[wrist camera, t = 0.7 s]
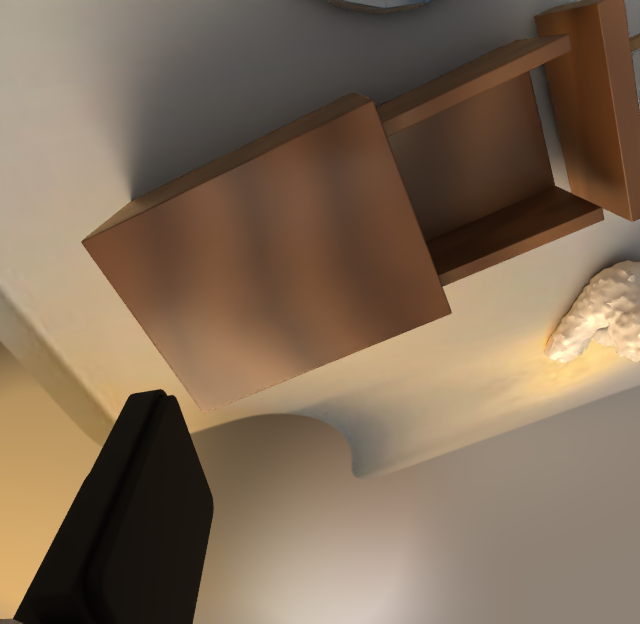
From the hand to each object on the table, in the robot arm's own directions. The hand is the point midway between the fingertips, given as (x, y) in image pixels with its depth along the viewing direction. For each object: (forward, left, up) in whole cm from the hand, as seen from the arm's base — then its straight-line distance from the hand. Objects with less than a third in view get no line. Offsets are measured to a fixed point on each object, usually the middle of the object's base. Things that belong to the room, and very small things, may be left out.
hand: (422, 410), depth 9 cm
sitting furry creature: (+19, +15, -26) cm, 36 cm away
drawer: (+3, +10, -25) cm, 27 cm away
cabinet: (+3, -5, -26) cm, 27 cm away
